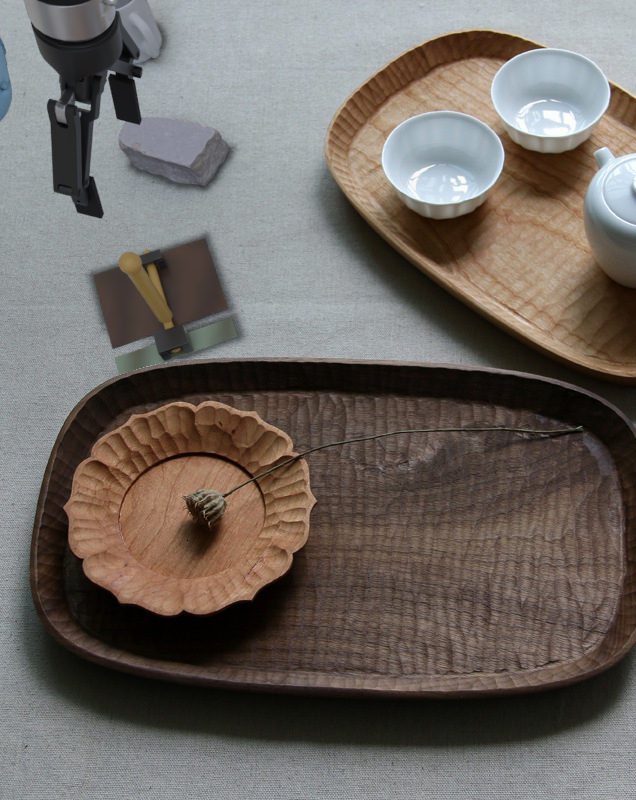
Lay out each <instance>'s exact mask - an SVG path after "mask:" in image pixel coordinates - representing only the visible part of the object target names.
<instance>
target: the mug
mask: <svg viewBox="0 0 636 800" xmlns="http://www.w3.org/2000/svg"><path fill="white" fill-rule="evenodd" d="M115 10H116V11H119V13H120V17H121V21H122V25H123V26H124V28H125V29H126V31H127V32H128V33H129V35H130V36H131V38H132V39H133V41H134V42H135V44H136V45H137V47H138V48H139V50H140V57H139V59H138V60H134V61H133V65H135V64H139V63H143V62H145V61H148V60H149V59H157V58H158V57H159V55H160V53H161V52H160V48H161V46H162V43H163V42H162V41H163V37H162V34H161V32H160V29H159V27H158V24H157V21H156V20H155V16H154V15H153V13H152V9H151V7H150V5H149V2H148V0H118V2H117V5H116V6H115Z"/></svg>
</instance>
